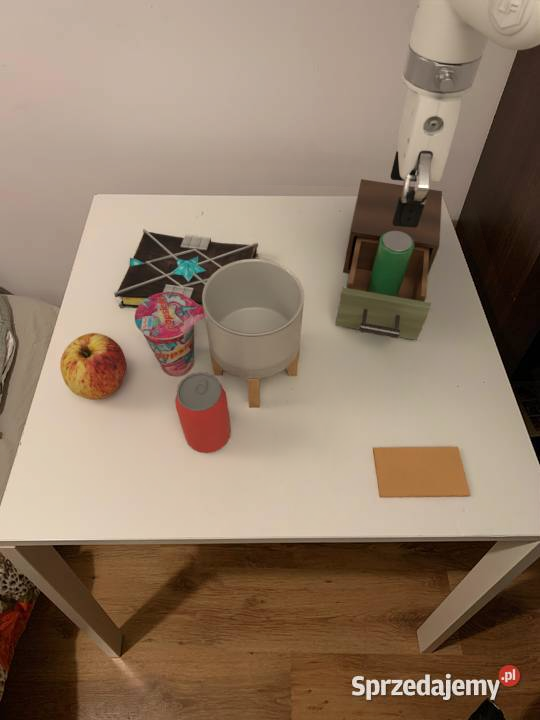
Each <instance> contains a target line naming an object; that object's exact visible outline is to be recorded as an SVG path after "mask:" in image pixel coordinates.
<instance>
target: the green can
mask: <svg viewBox="0 0 540 720" xmlns="http://www.w3.org/2000/svg"><path fill="white" fill-rule="evenodd" d="M413 248H414V241H413V239H412V238H411V237H410V236H409V235H407V234H406V233H403V232H400V231H389V232H386V233H384V234H383V235H382V236H381V238H380V241H379V245H378V249H377V253H376V257H375V261H374V265H373V269H372V273H371V277H370V281H369V285H368V289H367V292H372V293H378V294H383V295H389V296H395V297H398V294H399V291H400V288H401V285H402V282H403V279H404V276H405V273H406V270H407V267H408V264H409V261H410V258H411V254H412V251H413Z"/></svg>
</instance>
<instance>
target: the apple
mask: <svg viewBox="0 0 540 720" xmlns="http://www.w3.org/2000/svg"><path fill="white" fill-rule="evenodd" d="M127 366H128V365H127V359H126V355H125V353H124V351H123V349H122V347H121V346H120V345H119V344H118V342H117V341H116V340H115V339H113V338H111V337H109V336H108V335H105V334H102V333H98V332H89V333H86V334H83V335H80V336H78V337H76V338H75V339H74V340H72V341H71V342H70V343H69V344H68V345H67V346H66V348H65V349H64V350H63V352H62V356H61V358H60V366H59V367H60V373H61V376H62V379H63V381H64V384H65V385H66V386H67V388H68V389H69V390H70V392H72V393H73V394H75V395H76V396H79V397H81V398H83V399H88V400H101V399H103V398H108V397H110V396H111V395H113V394H114V393H115V392H117V391H118V390H119V389H120V387H121V385H122V383H123V381H124V380H125V377H126V374H127Z"/></svg>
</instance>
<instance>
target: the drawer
mask: <svg viewBox="0 0 540 720" xmlns="http://www.w3.org/2000/svg"><path fill="white" fill-rule="evenodd" d="M379 241H380V240H376V239H369V238H363V237H357V240H356V245H355V250H354V255H353V260H352V265H351V270H350V274H349V275H348V282H347V285H346V287H345V286H344V287H342V289H341V295H340V298H339V304H338V310H337V315H336V319H335V325H336V326H340V327H346V328H351V329H356V330H358V332H361V333H366V334H371V335H376V336H380V337H381V336H382V337H387V338H393V339H400V338H404V339H410V340H416V341H418V339H419V337H420V334H421V332H422V330H423V327H424V325H425V323H426V320H427V318H428V315H429V313H430V310H431V307H432V305H431V304H432V303H431V302H428V301H425V300H426V298H427V290H428V277H429V274H428V263H429V248H425V247H419V246H414V248H413V251H412V254H411V258H410V261H409V264H408V267H407V270H406V273H405V276H404V279H403V282H402V285H401V288H400V291H399V294H398V297H395V296H389V295H383V294H378V293H372V292H367V289H368V285H369V281H370V277H371V273H372V269H373V265H374V261H375V257H376V253H377V249H378V245H379Z"/></svg>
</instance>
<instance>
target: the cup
mask: <svg viewBox="0 0 540 720" xmlns="http://www.w3.org/2000/svg"><path fill="white" fill-rule="evenodd" d="M203 318H205V315H204V309H203V308H202V307H201V306H200V305H198V304H197V303H196V302H194V301H193V300H192V299H190V298H188V297H187V296H185V295H183V294H181V293H176V292H162V293H158V294H154V295H152V296H150V297H148V298H146V299H145V300H144V301H143V302H142V303H141V304H140V305H139V306H138V307H136V310H135V312H134V322H135V325H136V327H137V329H138V330H139V331H140V332H141V333H142V335H143V336H144V338H145V341H146V343H147V344H148V346H149V348H150V350H151V351H152V353H153V355H154V357H155V359H156V360H157V361H158V363H159V365H160V367H161V368H162V369H161V370H163V372H164V373H165V374H167V375H168V376H171V377H181V376H185V375H186V374H188V373H189V372H190V371H192V369H193V368H194V364H195V325H196V324H197V323H198V322H199V321H201V320H202V319H203Z"/></svg>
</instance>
